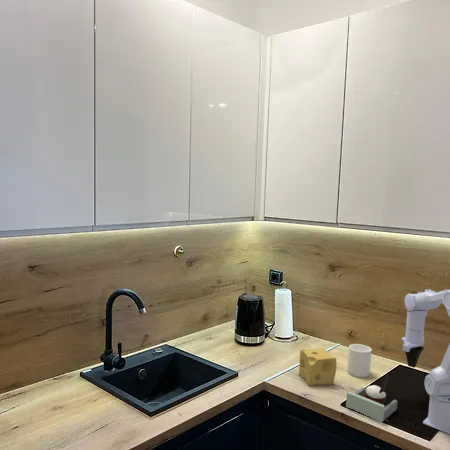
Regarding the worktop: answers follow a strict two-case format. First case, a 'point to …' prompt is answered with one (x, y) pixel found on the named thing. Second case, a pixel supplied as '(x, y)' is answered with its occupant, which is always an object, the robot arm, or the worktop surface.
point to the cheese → (317, 366)
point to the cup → (359, 360)
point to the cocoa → (377, 392)
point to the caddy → (369, 406)
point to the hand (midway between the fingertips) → (411, 366)
